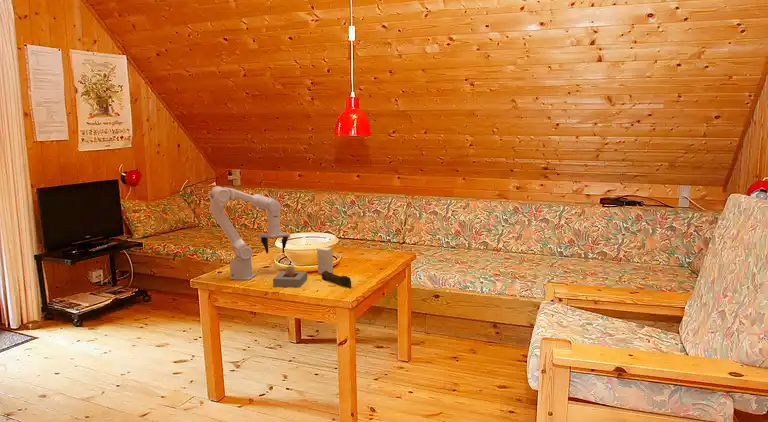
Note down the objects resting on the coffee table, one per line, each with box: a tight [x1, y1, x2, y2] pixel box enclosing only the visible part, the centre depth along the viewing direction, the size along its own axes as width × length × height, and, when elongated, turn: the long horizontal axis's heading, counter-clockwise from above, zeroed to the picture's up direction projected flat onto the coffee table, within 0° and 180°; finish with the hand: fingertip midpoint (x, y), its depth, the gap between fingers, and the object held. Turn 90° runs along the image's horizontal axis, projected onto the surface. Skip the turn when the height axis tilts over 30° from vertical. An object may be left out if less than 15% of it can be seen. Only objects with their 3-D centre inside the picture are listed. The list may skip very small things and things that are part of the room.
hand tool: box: [321, 271, 352, 289], centre depth 244 cm, size 19×4×5 cm, turn 40°
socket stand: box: [272, 270, 308, 288], centre depth 246 cm, size 12×12×4 cm
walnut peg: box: [284, 265, 296, 277], centre depth 246 cm, size 4×4×6 cm
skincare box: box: [316, 246, 334, 275], centre depth 259 cm, size 6×4×12 cm
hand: (275, 252), depth 262 cm, fingers open, 7 cm apart
